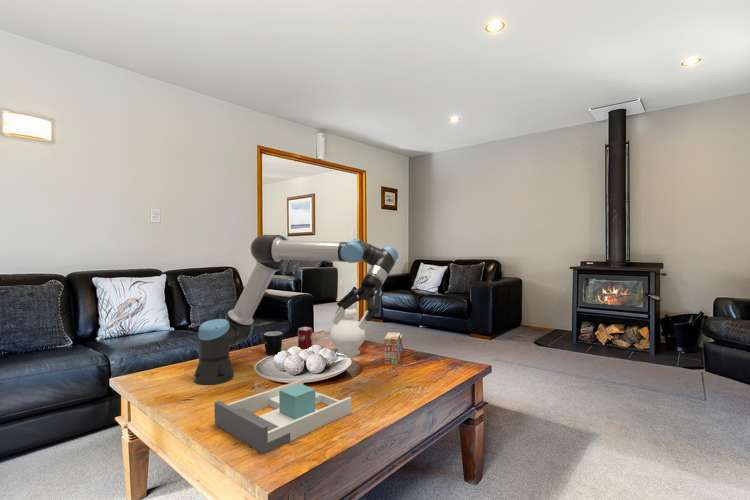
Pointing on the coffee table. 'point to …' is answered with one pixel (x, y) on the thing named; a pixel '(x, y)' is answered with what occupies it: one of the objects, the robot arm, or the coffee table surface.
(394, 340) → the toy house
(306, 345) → the soda can
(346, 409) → the tray
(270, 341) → the mug
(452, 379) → the coffee table surface
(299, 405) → the block
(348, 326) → the decorative vase
